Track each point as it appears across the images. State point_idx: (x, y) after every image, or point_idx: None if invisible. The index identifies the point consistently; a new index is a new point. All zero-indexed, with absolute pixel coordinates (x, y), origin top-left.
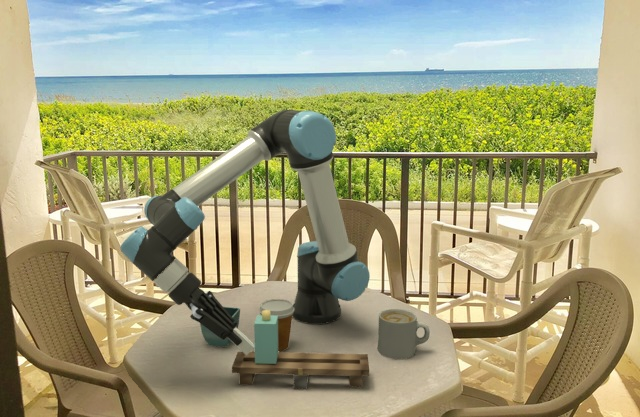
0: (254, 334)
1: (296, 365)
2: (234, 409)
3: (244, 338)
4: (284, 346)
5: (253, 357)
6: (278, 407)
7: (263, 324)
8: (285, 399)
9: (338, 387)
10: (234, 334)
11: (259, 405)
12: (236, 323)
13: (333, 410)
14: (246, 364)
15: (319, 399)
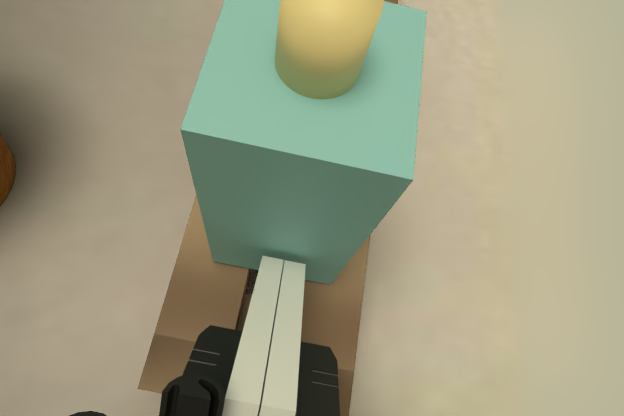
0: (378, 223)
1: None
2: (509, 405)
3: (296, 320)
4: (3, 140)
5: (242, 290)
6: (488, 231)
7: (417, 103)
8: (436, 202)
9: None
10: (315, 412)
11: (477, 299)
12: (203, 389)
13: (497, 78)
14: (322, 334)
15: (437, 100)
